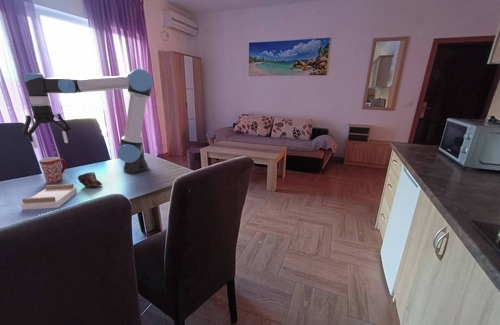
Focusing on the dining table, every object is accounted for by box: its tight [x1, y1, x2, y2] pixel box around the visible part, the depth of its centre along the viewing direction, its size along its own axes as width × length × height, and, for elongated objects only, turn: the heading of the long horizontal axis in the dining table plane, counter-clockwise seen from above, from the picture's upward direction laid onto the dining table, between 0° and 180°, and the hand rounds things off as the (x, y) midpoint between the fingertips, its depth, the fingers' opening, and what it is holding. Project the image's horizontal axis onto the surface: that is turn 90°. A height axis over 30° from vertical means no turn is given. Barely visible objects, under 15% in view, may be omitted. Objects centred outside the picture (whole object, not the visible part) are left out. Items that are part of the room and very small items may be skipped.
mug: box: [38, 156, 67, 184], centre depth 131 cm, size 13×9×14 cm
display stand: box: [20, 183, 78, 211], centre depth 107 cm, size 14×16×5 cm
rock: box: [77, 171, 103, 189], centre depth 124 cm, size 12×9×10 cm
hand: (51, 145), depth 122 cm, fingers open, 13 cm apart
